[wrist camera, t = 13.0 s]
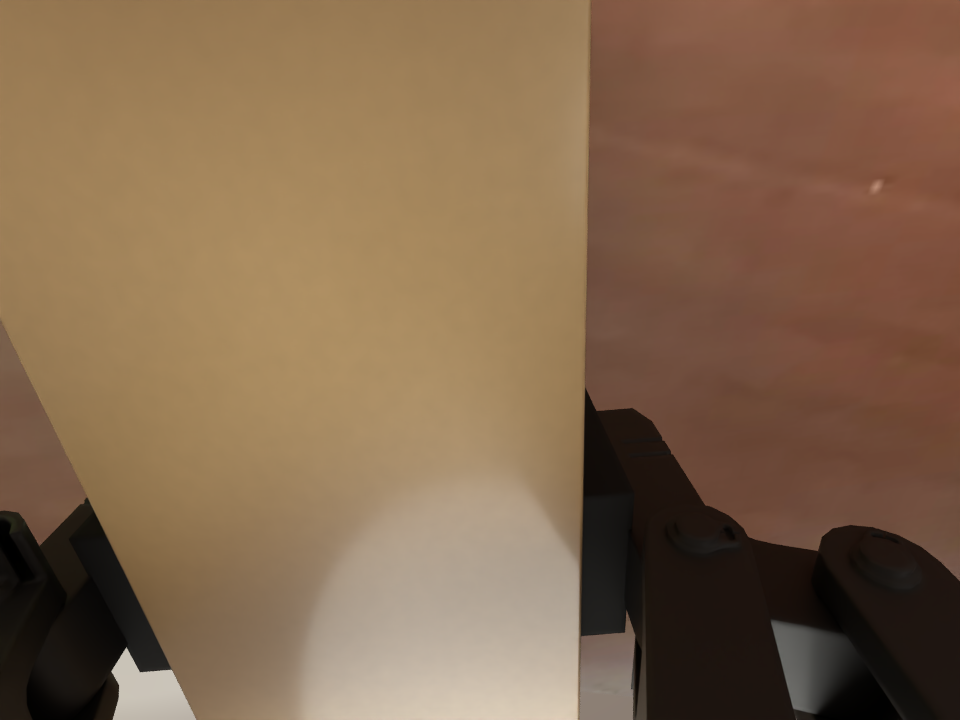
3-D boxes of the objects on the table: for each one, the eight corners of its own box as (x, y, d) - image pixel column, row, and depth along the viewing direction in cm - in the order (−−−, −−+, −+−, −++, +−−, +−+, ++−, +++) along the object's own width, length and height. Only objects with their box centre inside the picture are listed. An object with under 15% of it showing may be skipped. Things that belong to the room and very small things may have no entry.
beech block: (201, 18, 10) (-254, -160, 4) (512, -5, 10) (605, -225, 4) (347, 602, 17) (278, 900, 10) (534, 587, 17) (580, 875, 10)
